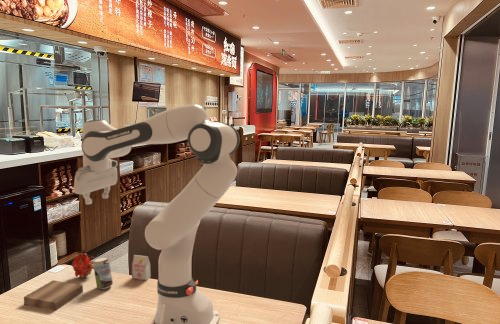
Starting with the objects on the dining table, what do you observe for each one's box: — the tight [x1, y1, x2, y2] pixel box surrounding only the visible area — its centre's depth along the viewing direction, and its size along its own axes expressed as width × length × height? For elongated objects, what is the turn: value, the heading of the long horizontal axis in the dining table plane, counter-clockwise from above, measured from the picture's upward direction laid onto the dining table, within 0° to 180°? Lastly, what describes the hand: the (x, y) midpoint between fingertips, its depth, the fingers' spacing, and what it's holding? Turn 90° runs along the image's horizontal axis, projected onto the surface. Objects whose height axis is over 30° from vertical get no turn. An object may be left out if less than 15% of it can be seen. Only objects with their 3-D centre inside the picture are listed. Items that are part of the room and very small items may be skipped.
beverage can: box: [92, 257, 114, 290], centre depth 149 cm, size 6×7×12 cm
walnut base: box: [23, 280, 84, 311], centre depth 140 cm, size 14×14×4 cm
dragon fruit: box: [71, 249, 95, 279], centre depth 157 cm, size 8×8×12 cm
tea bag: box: [131, 254, 152, 282], centre depth 158 cm, size 4×7×10 cm, turn 76°
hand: (97, 201), depth 136 cm, fingers open, 8 cm apart
